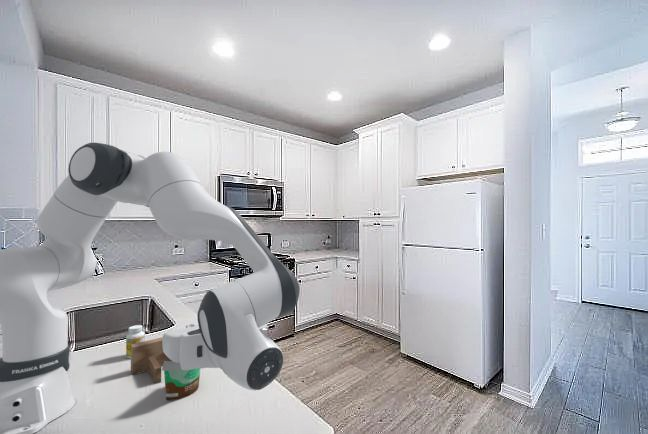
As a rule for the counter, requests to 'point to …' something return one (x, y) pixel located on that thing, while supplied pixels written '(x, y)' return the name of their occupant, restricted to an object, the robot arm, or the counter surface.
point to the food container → (179, 380)
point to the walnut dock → (148, 358)
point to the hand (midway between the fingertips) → (203, 324)
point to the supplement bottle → (134, 338)
